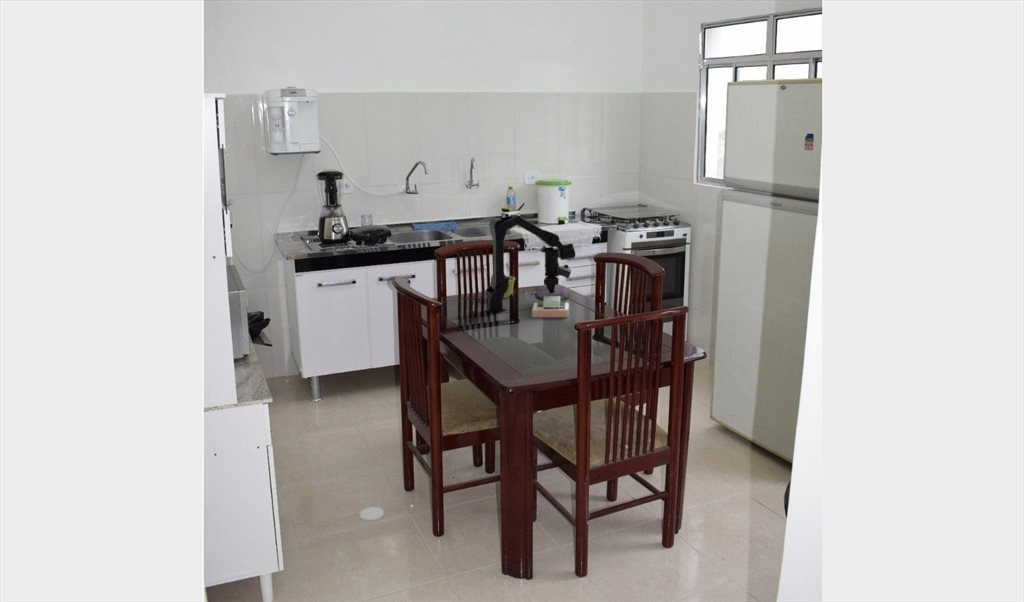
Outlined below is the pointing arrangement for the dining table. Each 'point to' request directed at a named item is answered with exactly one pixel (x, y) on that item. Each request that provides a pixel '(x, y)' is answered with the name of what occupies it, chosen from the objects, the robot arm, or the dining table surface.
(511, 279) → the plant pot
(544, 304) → the pale green box
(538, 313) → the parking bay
